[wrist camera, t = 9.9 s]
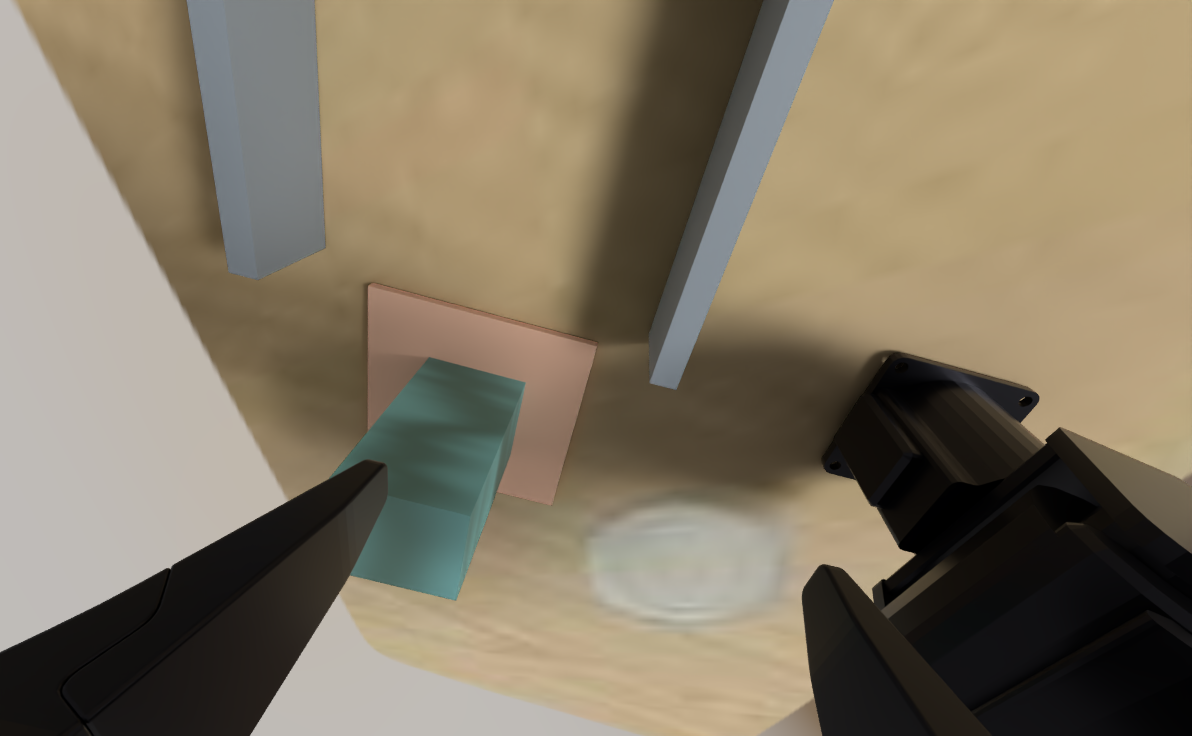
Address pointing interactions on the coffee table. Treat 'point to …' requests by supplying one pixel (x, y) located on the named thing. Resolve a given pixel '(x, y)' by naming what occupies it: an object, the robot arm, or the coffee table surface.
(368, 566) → the teal block
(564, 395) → the terracotta mat
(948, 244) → the coffee table surface
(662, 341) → the open-front gray frame
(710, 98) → the coffee table surface
